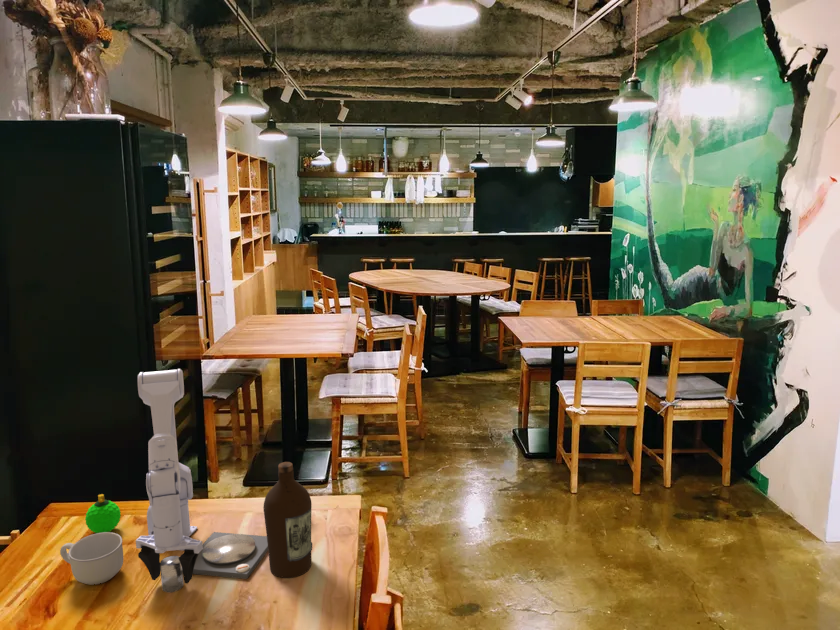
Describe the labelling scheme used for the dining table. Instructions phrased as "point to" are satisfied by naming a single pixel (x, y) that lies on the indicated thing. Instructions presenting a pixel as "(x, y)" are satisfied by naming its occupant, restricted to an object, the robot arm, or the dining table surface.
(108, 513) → the ornament
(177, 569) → the cylinder
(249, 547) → the scale pan
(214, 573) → the scale base
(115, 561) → the teacup
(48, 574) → the dining table surface
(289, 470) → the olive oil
